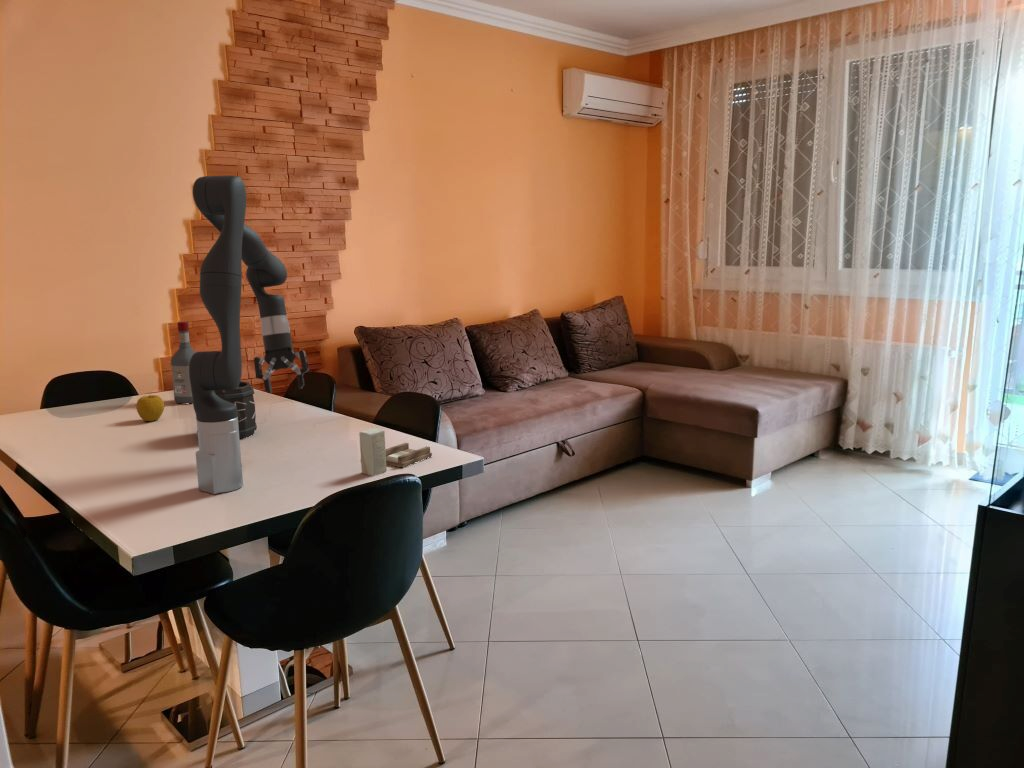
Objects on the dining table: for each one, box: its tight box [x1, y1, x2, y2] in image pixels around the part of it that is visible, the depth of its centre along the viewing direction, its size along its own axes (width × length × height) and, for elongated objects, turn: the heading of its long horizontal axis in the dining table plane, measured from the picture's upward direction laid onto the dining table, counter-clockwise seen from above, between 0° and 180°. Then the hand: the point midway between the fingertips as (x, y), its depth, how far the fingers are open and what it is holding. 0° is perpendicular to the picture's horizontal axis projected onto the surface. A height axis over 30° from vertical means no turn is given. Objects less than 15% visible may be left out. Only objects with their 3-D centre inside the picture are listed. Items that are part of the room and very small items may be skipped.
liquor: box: [170, 321, 197, 404], centre depth 278 cm, size 9×9×30 cm
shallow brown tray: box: [385, 442, 433, 468], centre depth 203 cm, size 12×10×3 cm
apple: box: [135, 394, 165, 422], centre depth 249 cm, size 8×8×9 cm
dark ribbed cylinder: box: [196, 380, 258, 440], centre depth 229 cm, size 18×18×16 cm
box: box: [359, 427, 388, 477], centre depth 191 cm, size 5×4×11 cm
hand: (285, 390), depth 208 cm, fingers open, 8 cm apart
